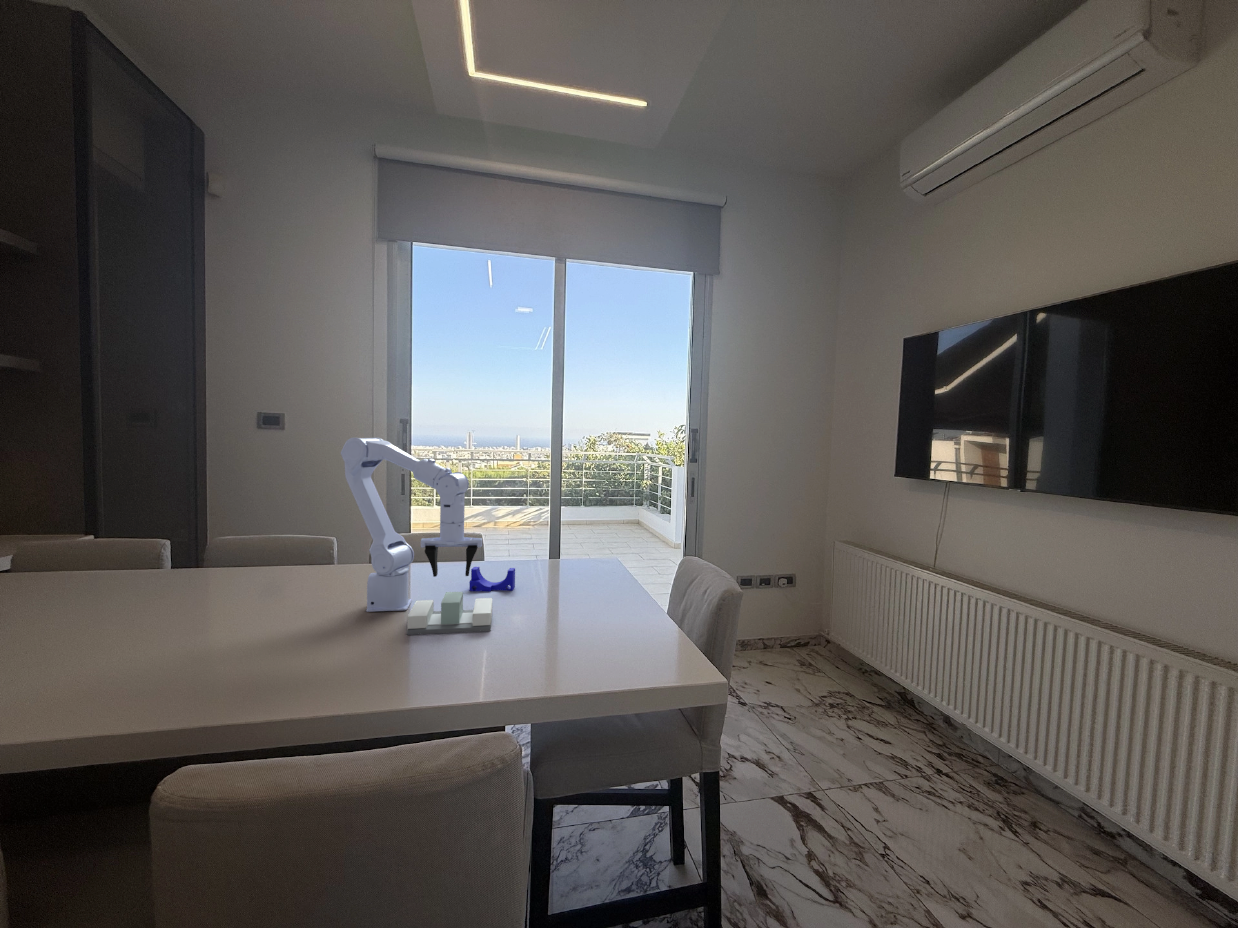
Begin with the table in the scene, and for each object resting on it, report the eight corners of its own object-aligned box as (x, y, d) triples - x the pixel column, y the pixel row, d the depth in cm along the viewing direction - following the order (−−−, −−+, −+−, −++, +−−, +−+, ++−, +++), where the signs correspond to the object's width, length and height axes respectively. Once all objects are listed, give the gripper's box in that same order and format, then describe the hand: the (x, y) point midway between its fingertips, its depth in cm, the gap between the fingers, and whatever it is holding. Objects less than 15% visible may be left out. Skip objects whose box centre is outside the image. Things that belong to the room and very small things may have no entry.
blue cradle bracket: (469, 591, 149) (469, 570, 148) (474, 586, 153) (474, 566, 153) (511, 592, 148) (511, 572, 148) (514, 588, 153) (515, 567, 153)
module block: (440, 624, 119) (441, 602, 119) (445, 612, 127) (445, 592, 127) (459, 623, 120) (459, 602, 120) (463, 611, 128) (463, 591, 128)
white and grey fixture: (407, 634, 116) (407, 617, 116) (416, 616, 128) (416, 599, 127) (490, 630, 120) (490, 613, 119) (492, 612, 131) (492, 597, 131)
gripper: (418, 524, 125) (417, 580, 125) (481, 524, 127) (480, 579, 128) (423, 519, 131) (423, 572, 132) (483, 519, 134) (482, 571, 135)
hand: (451, 575), depth 131 cm, fingers open, 7 cm apart
